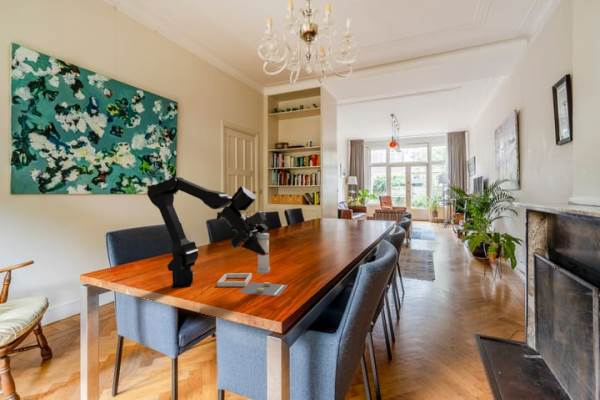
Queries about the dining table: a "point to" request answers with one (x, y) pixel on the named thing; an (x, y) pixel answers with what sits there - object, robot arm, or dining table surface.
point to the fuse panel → (264, 289)
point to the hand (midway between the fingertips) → (267, 252)
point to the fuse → (263, 259)
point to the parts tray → (235, 283)
